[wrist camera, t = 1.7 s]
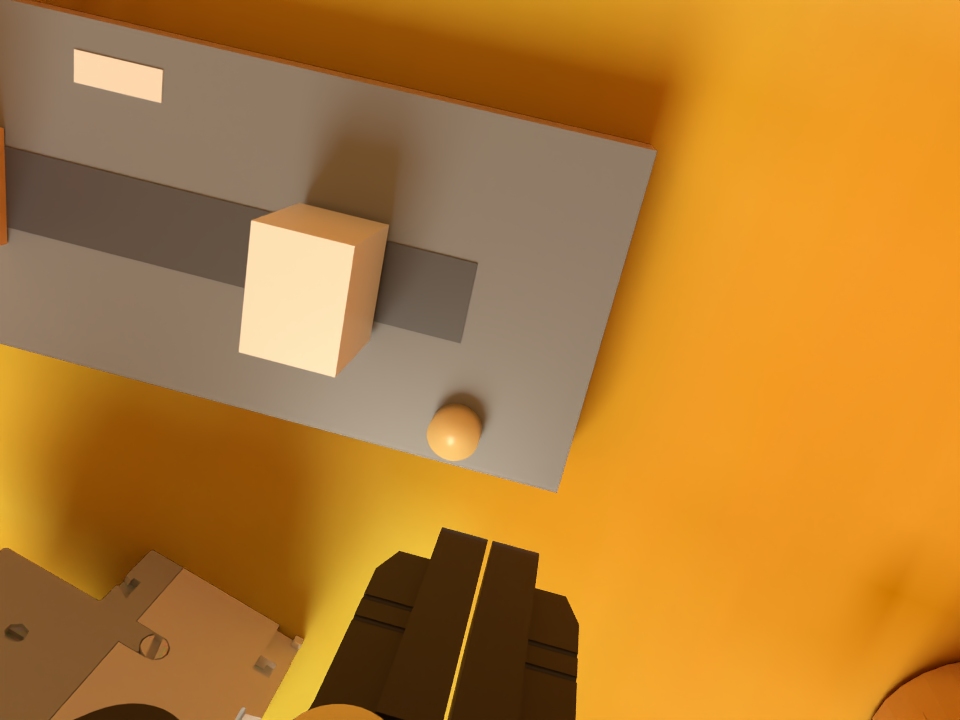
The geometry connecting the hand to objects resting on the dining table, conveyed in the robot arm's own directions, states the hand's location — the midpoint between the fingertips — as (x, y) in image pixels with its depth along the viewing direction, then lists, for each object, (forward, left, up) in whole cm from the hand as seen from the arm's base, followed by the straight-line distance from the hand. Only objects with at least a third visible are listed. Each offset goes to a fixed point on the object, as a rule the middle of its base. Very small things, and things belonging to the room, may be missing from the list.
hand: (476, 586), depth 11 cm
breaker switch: (+7, 0, -13) cm, 15 cm away
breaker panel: (+11, 0, -17) cm, 20 cm away
